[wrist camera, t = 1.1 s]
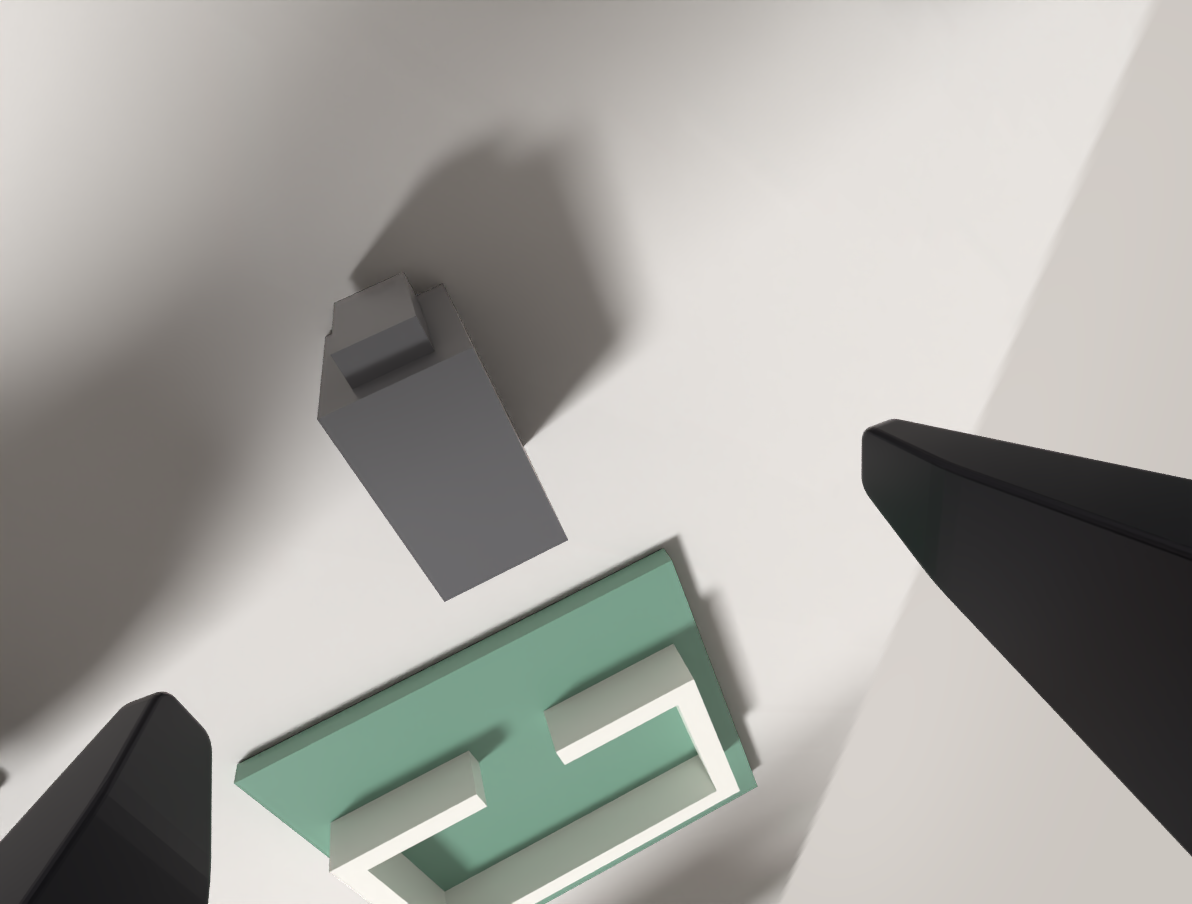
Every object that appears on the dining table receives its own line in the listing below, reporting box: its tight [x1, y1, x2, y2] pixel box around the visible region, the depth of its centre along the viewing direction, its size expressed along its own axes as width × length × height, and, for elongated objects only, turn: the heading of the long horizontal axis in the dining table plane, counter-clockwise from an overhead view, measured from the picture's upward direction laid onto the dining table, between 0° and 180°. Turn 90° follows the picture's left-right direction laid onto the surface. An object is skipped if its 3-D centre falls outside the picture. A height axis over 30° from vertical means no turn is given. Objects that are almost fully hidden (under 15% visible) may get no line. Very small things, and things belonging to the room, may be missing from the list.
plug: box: [317, 272, 568, 602], centre depth 18 cm, size 4×7×6 cm, turn 20°
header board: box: [234, 548, 757, 904], centre depth 29 cm, size 18×18×3 cm
